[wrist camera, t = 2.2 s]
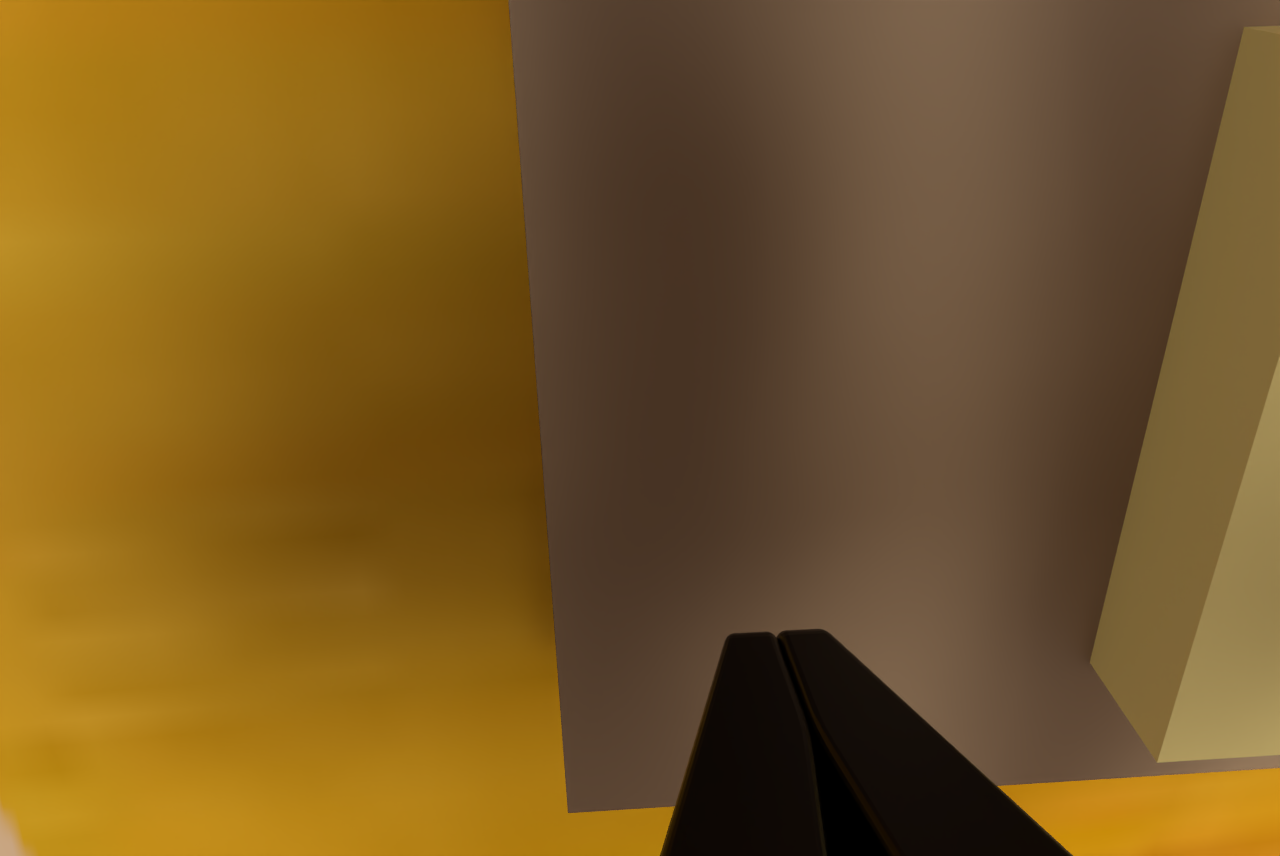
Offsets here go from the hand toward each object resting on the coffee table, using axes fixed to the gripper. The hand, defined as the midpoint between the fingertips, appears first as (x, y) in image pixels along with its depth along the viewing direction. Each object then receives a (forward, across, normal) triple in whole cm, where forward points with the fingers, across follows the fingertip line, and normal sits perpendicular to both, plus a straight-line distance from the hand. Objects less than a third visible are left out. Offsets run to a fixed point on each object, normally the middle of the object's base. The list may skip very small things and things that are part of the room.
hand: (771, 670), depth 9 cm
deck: (+9, -6, 0) cm, 11 cm away
